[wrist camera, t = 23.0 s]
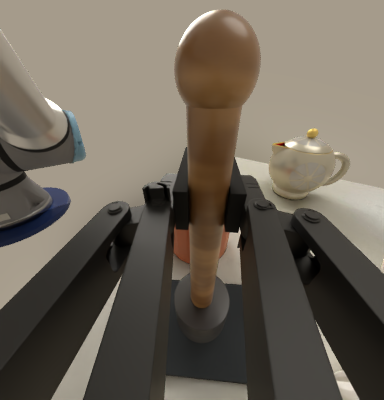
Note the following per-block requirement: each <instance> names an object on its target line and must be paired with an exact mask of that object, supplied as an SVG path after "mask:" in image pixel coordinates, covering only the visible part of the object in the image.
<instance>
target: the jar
mask: <svg viewBox="0 0 384 400" xmlns="http://www.w3.org/2000/svg"><path fill="white" fill-rule="evenodd" d="M174 235H175V237H174V253H175V255H176V256H177V257H178V258H179V259H181V260H182V261H184V262H186V263H189V264H190V239H189V229H188V230H176V227H175V228H174ZM228 238H229V232H225V228H224V227H223V234H222V240H221V247H220V253H219V258H220V257H221V256H222V255H223V254H224V252H225V250H226V247H227V243H228Z"/></svg>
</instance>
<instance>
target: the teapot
mask: <svg viewBox="0 0 384 400" xmlns="http://www.w3.org/2000/svg"><path fill="white" fill-rule="evenodd" d="M317 135H318V130H317V129H310V130H309V131H308V132H307V136H301V137H296V138H293V139H290V140H288V141H286V142H280V143H273V145H272V151H273V155H272V156H271V159H270V162H269V174H270V177H271V179H272V180H273V184H272V189H273V191H274V192H275V193H276V194H278V195H280V196H282V197H284V198H287V199H293V200H298V199H303V198H305V197H306V196H307V195H308V192H309V191H312V190H315V189H317V188H319V187H320V186H325V185H330V184H332V183H335V182H336V181H338V180H339V179H341V178H342V177H343V176H344V175H345V174H346V172H347V171H348V169H349V166H350V159H349V158H348V156H346V155H345V154H343V153H339V152H333V150H332V148H331V147H330V146H329V145H328V144H327V143H326V142H324V141H323V140H321V139H319V138H316V136H317ZM335 159H338V160H340V161H341V163H342V167H341V169H340V170H339V172H338V173H337V174H336V175H334V176H333V177H331V175H332V173H333V171H334V168H335ZM330 177H331V178H330Z"/></svg>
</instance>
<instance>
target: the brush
mask: <svg viewBox="0 0 384 400" xmlns="http://www.w3.org/2000/svg"><path fill="white" fill-rule="evenodd" d="M260 60H261V57H260V47H259V43H258V39H257V37H256V34H255V32H254V30H253V28H252V27H251V25H250V24H249V23H248V22H247V21H246V20H245V19H244V18H243V17H242V16H240V15H239V14H237V13H235V12H233V11H230V10H213V11H210V12H208V13H205V14H203V15H202V16H200V17H199V18H197V19H196V20H195V21H194V22H193V23H192V24H191V25H190V26H189V28H188V29H187V30H186V31H185V33H184V35H183V36H182V39H181V41H180V43H179V46H178V49H177V53H176V57H175V69H174V70H175V80H176V85H177V89H178V92H179V94H180V96H181V98H182V99H183V101H184V103H185V104H186V110H187V153H188V186H189V239H190V273H189V274H187V275H186V276H185V277H183V278H182V279H181V281H180V282H179V284H178V285H177V287H176V290H175V294H174V304H175V311H176V317H177V322H178V325H179V328H180V330H181V331H182V333H183V334H184V335H185V336H186V337H187V338H188V339H190V340H191V341H193V342H196V343H207V342H210V341H212V340H214V339H215V338H216V337H217V336H218V335H219V334H220V333H221V331H222V329H223V326H224V323H225V320H226V317H227V314H228V310H229V304H230V299H229V294H228V291H227V288H226V286H225V285H224V283H223V282H222V281H221V280H220V279H219V278H218V277H217V276H216V273H217V266H218V260H219V253H220V247H221V240H222V234H223V227H224V220H225V214H226V207H227V201H228V194H229V188H230V181H231V175H232V168H233V162H234V155H235V149H236V142H237V135H238V129H239V123H240V116H241V110H242V105H243V104H244V103H245V102H246V101H247V99H248V98H249V97H250V95H251V93H252V92H253V89H254V87H255V85H256V82H257V80H258V76H259V71H260Z"/></svg>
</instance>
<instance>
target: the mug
mask: <svg viewBox="0 0 384 400" xmlns="http://www.w3.org/2000/svg"><path fill="white" fill-rule="evenodd" d="M381 272H382V273H384V259H383V262H382V265H381Z"/></svg>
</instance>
